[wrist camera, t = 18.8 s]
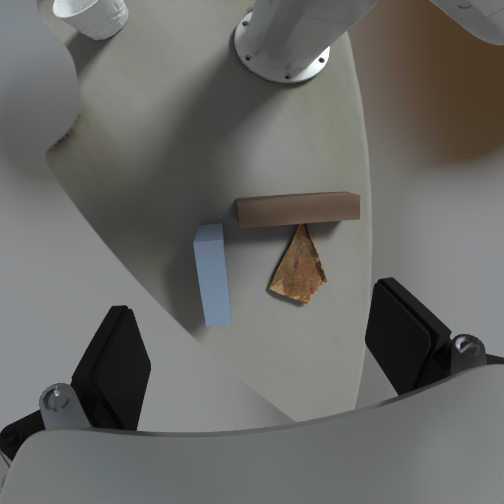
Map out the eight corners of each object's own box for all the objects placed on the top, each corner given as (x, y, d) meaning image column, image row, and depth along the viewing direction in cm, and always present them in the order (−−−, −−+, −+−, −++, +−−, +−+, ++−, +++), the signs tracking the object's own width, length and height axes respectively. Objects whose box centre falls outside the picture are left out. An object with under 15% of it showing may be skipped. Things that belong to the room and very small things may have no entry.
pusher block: (208, 295, 38) (206, 326, 31) (198, 225, 35) (193, 242, 28) (229, 293, 39) (232, 324, 31) (222, 222, 35) (222, 239, 28)
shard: (300, 215, 37) (304, 218, 35) (345, 237, 38) (350, 241, 37) (265, 285, 39) (267, 290, 38) (310, 301, 41) (314, 307, 39)
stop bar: (235, 198, 35) (237, 203, 31) (346, 191, 36) (359, 195, 32) (237, 221, 36) (239, 229, 32) (346, 213, 37) (359, 219, 33)
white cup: (100, 52, 26) (69, 27, 16) (75, 30, 23) (43, 6, 14) (143, 15, 25) (123, -21, 15) (114, -5, 22) (92, -37, 13)
